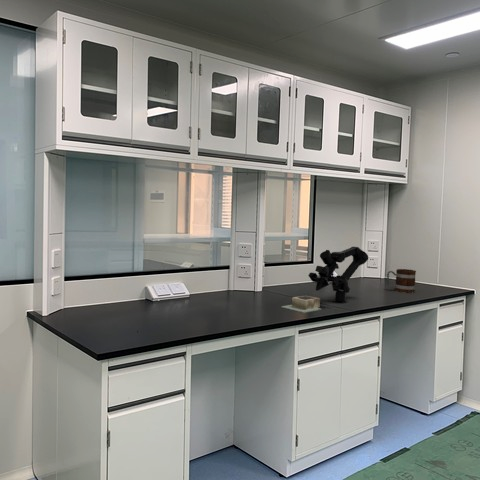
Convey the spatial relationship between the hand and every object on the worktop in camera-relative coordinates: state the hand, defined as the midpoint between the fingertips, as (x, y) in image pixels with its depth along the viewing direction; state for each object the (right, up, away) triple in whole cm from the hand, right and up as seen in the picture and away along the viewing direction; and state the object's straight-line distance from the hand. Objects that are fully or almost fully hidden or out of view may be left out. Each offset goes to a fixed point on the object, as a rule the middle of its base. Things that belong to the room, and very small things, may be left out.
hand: (316, 290), depth 270 cm
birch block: (-2, -6, -1) cm, 7 cm away
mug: (+69, -8, +63) cm, 94 cm away
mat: (-10, -9, -8) cm, 15 cm away
